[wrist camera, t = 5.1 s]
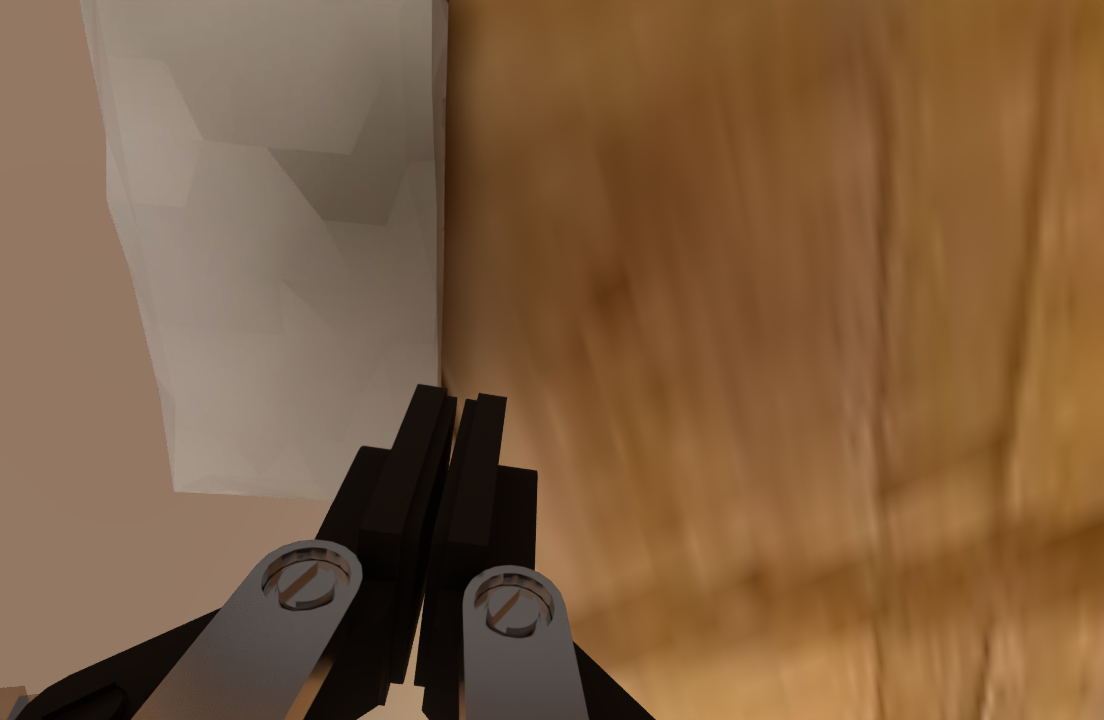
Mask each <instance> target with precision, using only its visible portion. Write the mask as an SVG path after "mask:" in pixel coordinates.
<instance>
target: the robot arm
mask: <svg viewBox="0 0 1104 720" xmlns="http://www.w3.org/2000/svg"><path fill="white" fill-rule="evenodd" d="M506 401H507V397H501V396H495V395H488V394H482V393H479V394H478V399H477V400H471V399H466V401H465V405H464V410H463V414H462V418H461V422H460V426H459V430H458V434H457V438H456V442H455V446H454V450H453V454H452V458H451V462H450V466H449V461H450V454H451V446H452V438H453V430H454V422H455V415H456V407H457V397H451V396H447V388H443V387H436V386H430V385H423V384H418V385H417V387H416V389H415V392H414V394H413V397H412V399H411V402H410V404H409V407H408V409H407V411H406V414H405V416H404V419H403V421H402V424H401V426H400V429H399V431H398V434H397V436H396V438H395V441H394V443H393V446H392V448H391V449H384V448H377V447H370V446H361V447H360V449H359V450H358V452H357V454H356V456H355V458H354V460H353V462H352V464H351V466H350V468H349V470H348V472H347V474H346V476H345V478H344V480H343V483H342V485H341V487H340V489H339V491H338V493H337V495H336V497H335V499H334V501H333V503H332V505H331V507H330V509H329V511H328V513H327V515H326V517H325V519H324V521H323V523H322V526H321V527H320V530H319V532H318V534H317V536H316V538H315V540H305V541H298V542H294V543H291V544H288V545H284V546H282V547H280V548H278V549H277V550H275V551H273V552H271V553H269V554H268V555H267V556H265V558H263V559H262V560H261V561H260V562H259V563H258V564H257V565H256V566H255V567H254V569H253V570H252V571H251V572H250V574H249V575H248V576H247V577H246V578H245V580H244V581H243V582H242V583H241V585H240V586H239V587H238V588H237V590H236V591H235V592H234V593H233V594H232V596H231V597H230V598H229V599H228V601H227V602H226V603H225V604H224V606H223V607H222V608H220V609H217V610H215V611H213V612H210V613H208V614H206V615H204V616H202V617H199V618H197V619H195V620H193V621H190V622H188V623H186V624H184V625H181V626H179V627H177V628H175V629H172V630H170V631H168V632H166V633H163V634H161V635H159V636H157V637H154V638H152V639H150V640H148V641H146V642H143V643H141V644H139V645H137V646H134V647H132V648H130V649H128V650H125V651H123V652H121V653H118V654H116V655H114V656H112V657H109V658H107V659H105V660H103V661H101V662H98V663H96V664H94V665H92V666H89V667H87V668H85V669H83V670H80V671H78V672H76V673H74V674H71V675H69V676H68V677H66V678H64V679H62V680H60V681H58V682H57V683H55V684H53V685H51V686H49V687H48V688H47V689H45V690H44V691H43V692H41V693H40V694H34V695H27V692H26V689H25V686H18V687H7V688H0V720H357V719H358V718H360V717H361V716H363V715H364V714H366V713H367V712H369V711H371V710H372V709H374V708H375V707H377V706H378V705H382V706H384V705H385V702H386V698H387V695H388V691H389V687H390V683H395V684H403V683H404V679H405V675H406V671H407V667H408V662H409V658H410V654H411V649H412V645H413V641H414V637H415V633H416V628H417V624H418V620H419V616H420V611H421V607H422V603H423V599H424V605H423V613H422V621H421V629H420V638H419V646H418V655H417V663H416V671H415V679H414V686H421V687H425V690H424V698H423V705H422V711H423V713H424V714H425V715H426V717H427V718H428V719H429V720H655V719H654V718H653V717H652V716H651V715H650V714H649V713H648V712H647V711H646V710H645V709H644V708H643V707H642V706H641V705H640V704H639V703H638V702H637V701H635V700H634V699H633V698H632V697H631V696H630V695H629V694H628V693H627V692H626V691H625V690H624V689H623V688H622V687H621V686H620V685H619V684H618V683H617V682H615V681H614V680H613V679H612V678H611V677H610V676H609V675H608V674H607V673H606V672H605V671H604V670H603V669H602V668H601V667H600V666H599V665H598V664H597V663H596V662H594V661H593V660H592V659H591V658H590V657H589V656H588V655H587V654H586V653H585V652H584V651H583V650H582V649H581V648H580V647H579V646H578V645H577V644H576V643H574V642H573V640H572V636H571V631H570V626H569V621H568V616H567V612H566V607H565V603H564V601H563V598H562V596H561V593H560V591H559V590H558V589H557V588H556V586H555V585H554V584H553V583H552V582H551V581H550V580H549V579H547V578H546V577H545V576H543V575H542V574H540V573H539V572H536V571H535V545H536V513H537V481H538V472H537V471H536V470H529V469H522V468H515V467H508V466H501V465H498V464H499V456H500V448H501V440H502V432H503V425H504V417H505V409H506ZM448 469H449V470H448ZM424 594H425V596H424Z"/></svg>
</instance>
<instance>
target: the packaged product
mask: <svg viewBox="0 0 1104 720" xmlns="http://www.w3.org/2000/svg"><path fill="white" fill-rule="evenodd" d="M79 1H80V6H81V12H82V16H83V21H84V26H85V31H86V36H87V41H88V46H89V51H90V56H91V60H92V66H93V71H94V76H95V81H96V86H97V91H98V96H99V102H100V107H101V111H102V116H103V122H104V127H105V132H106V182H107V184H106V185H107V205H108V207H109V210H110V213H111V216H112V219H113V222H114V225H115V228H116V230H117V233H118V236H119V239H120V242H121V245H122V248H123V250H124V254H125V257H126V260H127V262H128V265H129V268H130V273H131V277H132V281H133V285H134V289H135V293H136V298H137V302H138V306H139V310H140V314H141V319H142V323H143V327H144V331H145V335H146V339H147V343H148V348H149V352H150V356H151V360H152V364H153V368H154V373H155V377H156V381H157V385H158V389H159V393H160V400H161V407H162V413H163V420H164V427H165V434H166V439H167V447H168V454H169V460H170V467H171V473H172V480H173V487H174V492H195V493H214V494H234V495H248V496H263V497H276V498H290V499H304V500H318V501H331V502H333V501H334V499H335V497H336V495H337V493H338V491H339V489H340V487H341V485H342V483H343V480H344V478H345V476H346V474H347V472H348V470H349V468H350V466H351V464H352V462H353V460H354V458H355V456H356V454H357V452H358V450H359V449H360V447H361V446H370V447H377V448H384V449H391V448H392V446H393V443H394V441H395V438H396V436H397V434H398V431H399V429H400V426H401V424H402V421H403V419H404V416H405V414H406V411H407V409H408V407H409V404H410V402H411V399H412V397H413V394H414V392H415V389H416V387H417V385H418V384H423V385H430V386H436V387H441V354H442V320H443V280H444V194H445V127H446V81H447V45H448V7H449V0H79Z"/></svg>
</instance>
